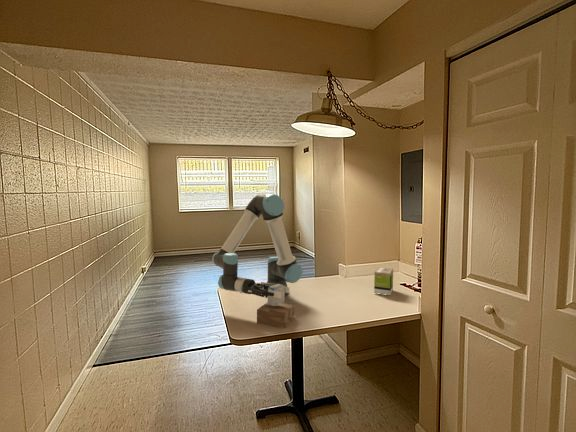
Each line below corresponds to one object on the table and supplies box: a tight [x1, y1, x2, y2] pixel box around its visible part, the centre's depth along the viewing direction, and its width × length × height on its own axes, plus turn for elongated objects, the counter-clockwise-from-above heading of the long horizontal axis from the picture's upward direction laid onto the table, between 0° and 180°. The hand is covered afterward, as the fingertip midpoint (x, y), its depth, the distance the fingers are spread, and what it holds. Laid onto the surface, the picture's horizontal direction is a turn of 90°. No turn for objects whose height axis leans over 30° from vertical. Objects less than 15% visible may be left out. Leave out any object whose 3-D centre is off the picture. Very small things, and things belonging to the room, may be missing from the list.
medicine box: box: [267, 284, 286, 306], centre depth 152 cm, size 8×4×9 cm, turn 141°
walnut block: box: [256, 301, 295, 329], centre depth 153 cm, size 14×14×7 cm
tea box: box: [373, 267, 394, 296], centre depth 203 cm, size 15×10×15 cm
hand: (284, 292), depth 150 cm, fingers closed on medicine box, 8 cm apart
